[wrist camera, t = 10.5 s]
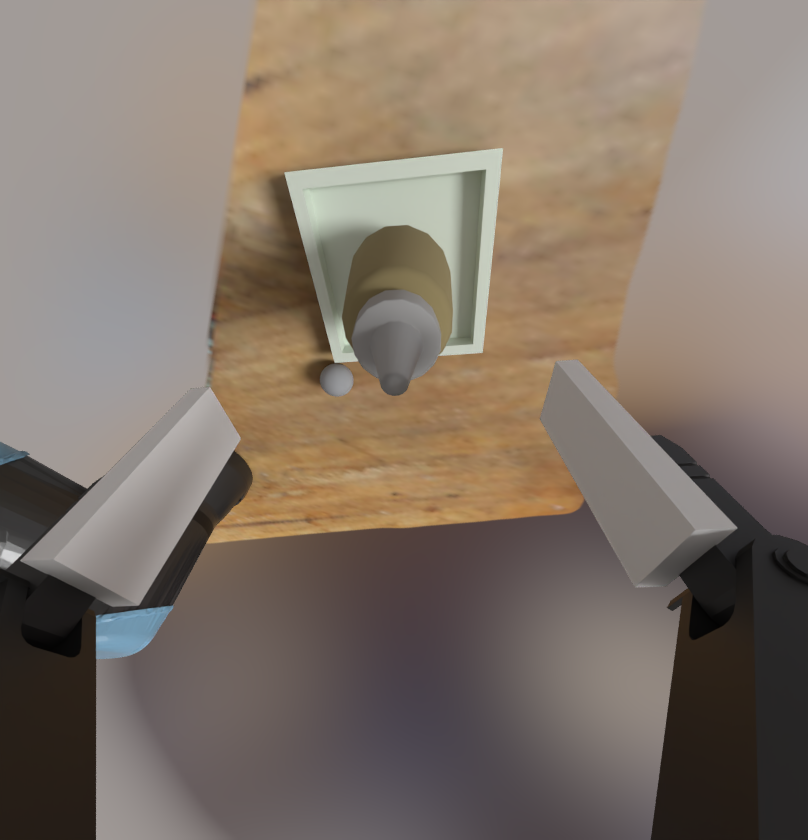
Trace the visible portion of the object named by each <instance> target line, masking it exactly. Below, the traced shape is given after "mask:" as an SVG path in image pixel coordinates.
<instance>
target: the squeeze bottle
mask: <svg viewBox="0 0 808 840" xmlns="http://www.w3.org/2000/svg"><path fill="white" fill-rule="evenodd" d="M342 321H343V326H344V332H345V337H346V339H347V341H348V342H349V344H350V345H351V347H352V349H353V350H354V355H355V356H356V358H357V359H358V361H359V363H360V364H361V366H362V367H363V368H364V369H365V370H366V371H368V372H369V373H370V374H372V375H373V376H374V377H376V378H379V381H380V384H381V388H382V389H383V391H384V392H386V393H387V394H389V395H392V396H396V395H400V394H403V393H404V392H405V391H406V390H407V388H408V386H409V383H410V380H413V379H415V378H418V377H420V376H422V375H423V374H425V373H426V372H427V371H428V370H429V369H430V368H431V367H432V366H433V365H434V364H435V361H436V359H437V357H438V355H439V354H441V353H442V352H443V350H444V348H445V346H446V344H447V342H448V340H449V338H450V336H451V334H452V321H453V303H452V288H451V272H450V269H449V266H448V263H447V260H446V257H445V254H444V251H443V250H442V249H441V247H440V246H439V245H438V244H437V243H436V242H435V241H434V240H433V239H432V237H431V236H430V235H429V234H428V233H425V232H423V231H421V230H418V229H416V228H413V227H411V226H409V225H399V226H385V227H383V228H382V229H380V230H378V231H376V232H375V233H373V234H371V235H370V236H368V237H366V238H365V240H364V241H363V243H362V244H361V245H360V247H359V248H358V250H357V251H356V253H355V254H354V255H353V259H352V264H351V269H350V273H349V278H348V284H347V290H346V295H345V301H344V307H343V313H342Z"/></svg>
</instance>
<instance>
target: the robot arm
mask: <svg viewBox="0 0 808 840" xmlns="http://www.w3.org/2000/svg"><path fill="white" fill-rule="evenodd" d="M540 420H541V422H542V424H543V426H544V427H545V429H546V431H547V433H548V434H549V436H550V438H551V440H552V441H553V443H554V445H555V447H556V449H557V450H558V452H559V454H560V456H561V457H562V459H563V461H564V463H565V465H566V466H567V468H568V470H569V472H570V473H571V475H572V477H573V479H574V480H575V482H576V484H577V486H578V488H579V489H580V491H581V493H582V495H583V496H584V498H585V500H586V502H587V503H588V505H589V507H590V509H591V510H592V512H593V514H594V516H595V518H596V519H597V521H598V523H599V525H600V526H601V528H602V530H603V532H604V533H605V535H606V537H607V539H608V541H609V542H610V544H611V546H612V548H613V549H614V551H615V553H616V555H617V557H618V558H619V560H620V562H621V564H622V565H623V567H624V569H625V571H626V572H627V574H628V576H629V578H630V580H631V581H632V583H633V585H634V587H658V586H667V585H669V584H670V583H671V582H672V581H673V580H675V579H676V578H677V577H678V576H680V577H681V578H682V580H683V581H684V583H685V584H686V585H687V587H688V589H686V590H685V591H683V592H682V593H681V594H679V595H678V596H677V597H675V598H674V599H673V600H671V601H670V603H669V605H668V607H667V608H668V609H670V610H672V611H673V610H675V609H676V608H677V607H679V606H680V605H681V614H680V621H679V628H678V637H677V644H676V651H675V659H674V667H673V674H672V682H671V689H670V697H669V705H668V712H667V720H666V728H665V735H664V743H663V751H662V759H661V766H660V774H659V782H658V789H657V797H656V804H655V812H654V819H653V827H652V835H651V840H808V546H807V545H805V544H803V543H801V542H799V541H797V540H793V539H790V538H786V537H783V536H780V535H771V533H770V532H768V531H767V530H766V529H764V528H763V526H762V525H761V524H759V522H758V521H756V520H755V519H754V518H753V517H752V516H751V515H750V514H749V513H748V512H747V511H746V510H745V509H744V508H743V507H742V506H741V505H740V504H739V503H738V502H737V501H736V500H735V499H734V498H733V497H732V496H731V495H730V494H729V493H728V492H727V491H726V490H725V489H724V488H723V487H722V486H721V485H719V484H718V483H717V482H716V481H715V480H714V479H713V478H712V479H711V478H710V475H709V474H708V473H707V472H706V471H705V470H704V469H703V468H702V467H701V466H698V465H697V462H696V461H695V460H694V459H693V458H692V457H691V456H690V455H689V454H687V452H686V451H685V450H684V449H683V448H681V447H680V446H678V445H676V444H675V443H673V442H671V441H670V440H668V439H666V438H665V437H663V436H661V435H658V436H650V435H649V434H648V433H647V432H646V431H645V430H644V429H643V428H642V427H641V426H640V425H639V424H638V423H637V422H636V421H635V420H634V419H633V418H632V416H631V415H630V414H629V413H628V412H627V411H626V410H625V409H624V408H623V407H622V406H621V405H620V404H619V403H618V402H617V401H616V400H615V399H614V398H613V396H612V395H611V394H610V393H609V392H608V391H607V390H606V389H605V388H604V387H603V386H602V385H601V384H600V383H599V382H598V381H597V380H596V379H595V378H594V376H593V375H592V374H591V373H590V372H589V371H588V370H587V369H586V368H585V367H584V366H583V365H582V364H581V363H580V362H579V361H578V360H566V361H556V363H555V366H554V370H553V374H552V377H551V381H550V384H549V388H548V392H547V395H546V399H545V402H544V406H543V409H542V413H541V417H540ZM240 439H241V438H240V436H239V434H238V433H237V431H236V429H235V428H234V426H233V424H232V423H231V421H230V419H229V418H228V416H227V414H226V413H225V411H224V409H223V408H222V406H221V404H220V403H219V401H218V400H217V398H216V396H215V395H214V393H213V391H212V390H211V388H210V387H203V388H191V389H190V390H189V391H188V392H187V393H186V394H185V395H184V396H183V397H182V398H181V399H180V400H179V401H178V402H177V403H176V404H175V405H174V406H173V407H172V408H171V409H170V410H169V411H168V412H167V413H166V414H165V415H164V416H163V417H162V418H161V419H160V420H159V421H158V422H157V423H156V424H155V425H154V426H153V427H152V428H151V429H150V430H149V431H148V432H147V433H146V434H145V435H144V436H143V437H142V438H141V439H140V440H139V441H138V442H137V444H135V445H134V446H133V447H132V448H131V449H130V450H129V451H128V453H126V455H125V456H123V458H122V459H120V460H119V462H118V463H116V464H115V466H114V467H113V468H112V469H111V470H110V471H109V472H108V473H107V474H106V475H104V476H103V477H102V478H100V479H99V480H97V481H96V482H94V483H93V484H92V485H91V486H90V487H89V488H88V489H86V488H84V487H83V486H81V485H79V484H77V483H75V482H74V481H72V480H70V479H68V478H66V477H64V476H63V475H61V474H59V473H57V472H56V471H54V470H52V469H50V468H48V467H47V466H45V465H43V464H41V463H39V462H38V461H36V460H34V459H32V458H30V457H29V456H27V455H29V453H27V452H25V451H18V450H16V449H14V448H12V447H10V446H8V445H6V444H4V443H2V442H0V840H96V659H107V658H119V657H125V656H129V655H132V654H134V653H136V652H138V651H140V650H142V649H143V648H144V647H145V646H147V645H148V644H149V642H150V641H151V640H152V638H153V637H154V636H155V634H156V632H157V631H158V629H159V628H160V626H161V624H162V623H163V621H164V620H165V618H166V617H167V615H168V613H169V612H170V611H171V610H172V609H173V604H174V602H175V600H176V598H177V597H178V595H179V593H180V591H181V589H182V587H183V585H184V583H185V582H186V580H187V578H188V576H189V574H190V572H191V570H192V569H193V567H194V565H195V563H196V561H197V559H198V557H199V555H200V553H201V551H202V550H203V548H204V546H205V544H206V542H207V541H208V539H209V537H210V535H211V533H212V531H213V530H214V528H215V526H216V525H217V524H218V523H219V522H220V521H221V520H222V519H223V518H224V517H225V516H226V515H227V514H228V513H229V512H230V510H231V509H232V508H233V507H234V506H235V505H237V504H238V503H240V502H241V501H242V500H243V499H244V497H245V496H246V494H247V492H248V490H249V488H250V486H251V484H252V480H253V477H252V472H251V470H250V468H249V466H248V465H247V463H246V462H245V461H244V460H243V459H242V458H241V457H240V456H239V455H238V454H237V453H236V452H234V449H235V448H236V446H237V444H238V443H239V441H240Z"/></svg>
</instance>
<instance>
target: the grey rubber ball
mask: <svg viewBox="0 0 808 840" xmlns="http://www.w3.org/2000/svg"><path fill="white" fill-rule="evenodd" d="M320 384H321V387H322V388H323V390H324V391H325V392H326V393H328V394H329V395H332V396H343V395H345V394H347V393H348V392H349V391H350V390H351V388H352V386H353V375H352V373H351V371H350V370H349V369H348V368H347V367H346V366H344V365H342V364H337V363H335V364H330V365H328V366H326V367H325V368H324V369H323V371H322V372H321V375H320Z"/></svg>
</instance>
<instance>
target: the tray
mask: <svg viewBox="0 0 808 840" xmlns="http://www.w3.org/2000/svg"><path fill="white" fill-rule="evenodd" d="M502 153H503V148H499V149H490V150H481V151H472V152H463V153H454V154H445V155H436V156H427V157H418V158H409V159H400V160H391V161H382V162H373V163H364V164H355V165H346V166H337V167H328V168H319V169H310V170H301V171H292V172H284V173H285V177H286V181H287V185H288V188H289V192H290V196H291V200H292V203H293V207H294V211H295V215H296V219H297V222H298V226H299V230H300V234H301V237H302V241H303V245H304V249H305V253H306V256H307V260H308V264H309V268H310V271H311V275H312V279H313V283H314V286H315V290H316V294H317V298H318V302H319V305H320V309H321V313H322V317H323V320H324V324H325V328H326V332H327V336H328V339H329V343H330V347H331V351H332V354H333V358H334V362H335V363H340V362H355V361H358V359H357V358H356V356H355V355H354V350H353V349H352V347H351V345H350V344H349V342H348V341H347V339H346V337H345V332H344V326H343V321H342V313H343V307H344V301H345V295H346V290H347V284H348V278H349V273H350V269H351V264H352V259H353V255H354V254H355V253H356V251H357V250H358V248H359V247H360V245H361V244H362V243H363V241H364V240H365V238H366V237H368V236H370V235H371V234H373V233H375V232H376V231H378V230H380V229H382V228H383V227H385V226H399V225H409V226H411V227H413V228H416V229H418V230H421V231H423V232H425V233H428V234H429V235H430V236H431V237H432V239H433V240H434V241H435V242H436V243H437V244H438V245H439V246H440V247H441V249H442V250H443V251H444V254H445V257H446V260H447V263H448V266H449V269H450V272H451V288H452V303H453V321H452V334H451V336H450V338H449V340H448V342H447V344H446V346H445V348H444V350H443V352H442V353H441V354H439V355H438V356H443V355H458V354H472V353H483V344H484V334H485V324H486V314H487V304H488V294H489V284H490V274H491V264H492V254H493V244H494V234H495V224H496V214H497V203H498V193H499V183H500V173H501V163H502Z"/></svg>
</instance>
